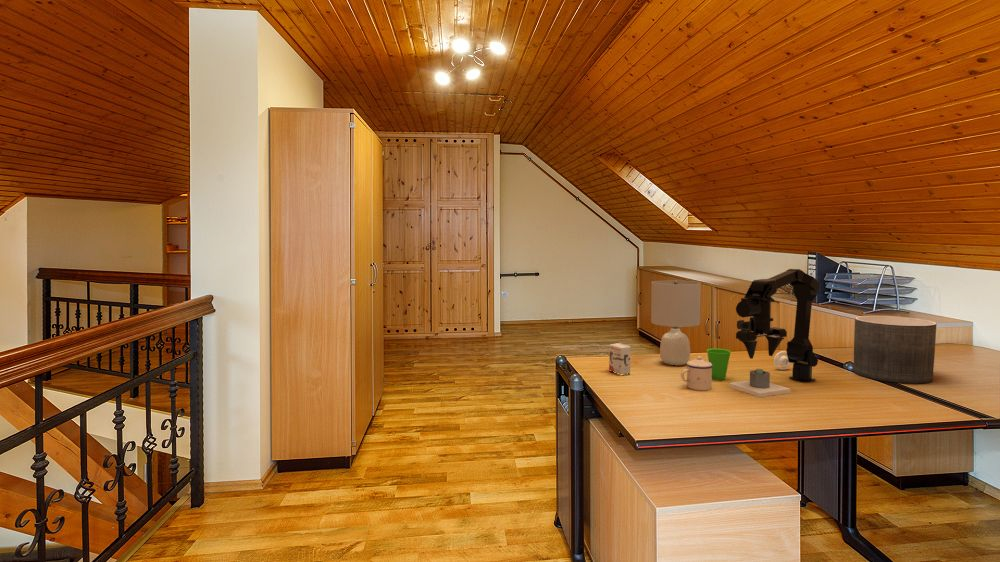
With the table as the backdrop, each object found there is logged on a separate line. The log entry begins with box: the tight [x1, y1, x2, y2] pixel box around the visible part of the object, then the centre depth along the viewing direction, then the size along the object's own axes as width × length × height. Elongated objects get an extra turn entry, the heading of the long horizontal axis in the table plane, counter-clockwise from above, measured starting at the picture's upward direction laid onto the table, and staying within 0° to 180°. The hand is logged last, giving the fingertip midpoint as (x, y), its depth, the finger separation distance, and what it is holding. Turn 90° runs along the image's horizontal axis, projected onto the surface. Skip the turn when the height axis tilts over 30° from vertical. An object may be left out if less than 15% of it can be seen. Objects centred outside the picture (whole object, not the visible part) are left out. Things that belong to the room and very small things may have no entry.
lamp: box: [650, 280, 702, 367], centre depth 226 cm, size 20×20×37 cm
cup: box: [705, 348, 732, 381], centre depth 203 cm, size 9×9×11 cm
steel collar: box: [749, 369, 771, 389], centre depth 187 cm, size 6×6×5 cm
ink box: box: [608, 342, 632, 374], centre depth 213 cm, size 9×5×12 cm, turn 25°
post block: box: [728, 368, 791, 398], centre depth 187 cm, size 14×14×8 cm
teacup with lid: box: [680, 355, 713, 391], centre depth 191 cm, size 12×9×12 cm
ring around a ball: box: [773, 350, 792, 371], centre depth 215 cm, size 8×6×8 cm
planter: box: [852, 315, 937, 385], centre depth 203 cm, size 25×25×22 cm
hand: (760, 357), depth 188 cm, fingers open, 9 cm apart
